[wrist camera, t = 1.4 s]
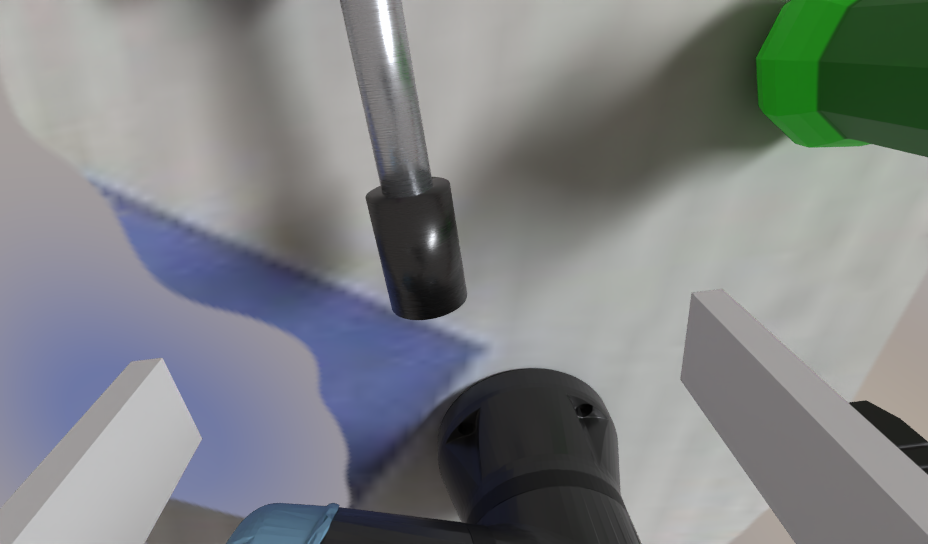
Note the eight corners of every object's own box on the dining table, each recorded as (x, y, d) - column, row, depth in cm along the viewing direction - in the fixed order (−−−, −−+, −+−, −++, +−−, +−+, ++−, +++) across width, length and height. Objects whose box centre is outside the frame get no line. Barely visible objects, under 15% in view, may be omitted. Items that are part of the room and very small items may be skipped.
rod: (457, 233, 33) (469, 312, 23) (270, 262, 33) (207, 353, 24) (393, -185, 23) (368, -338, 14) (128, -144, 23) (-79, -269, 14)
